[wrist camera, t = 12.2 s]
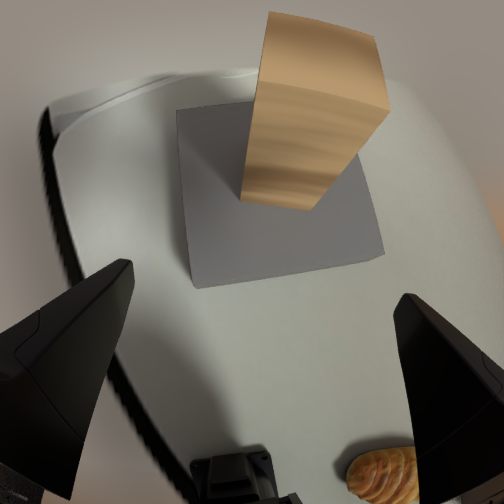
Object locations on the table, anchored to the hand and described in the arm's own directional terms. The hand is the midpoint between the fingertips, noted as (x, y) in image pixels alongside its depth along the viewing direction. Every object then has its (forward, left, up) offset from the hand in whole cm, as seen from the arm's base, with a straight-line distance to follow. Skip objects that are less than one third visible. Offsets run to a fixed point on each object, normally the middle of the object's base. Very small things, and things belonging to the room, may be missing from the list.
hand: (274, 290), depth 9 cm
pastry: (-19, -11, -14) cm, 26 cm away
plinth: (+9, -4, -14) cm, 17 cm away
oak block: (+9, -4, -11) cm, 14 cm away
